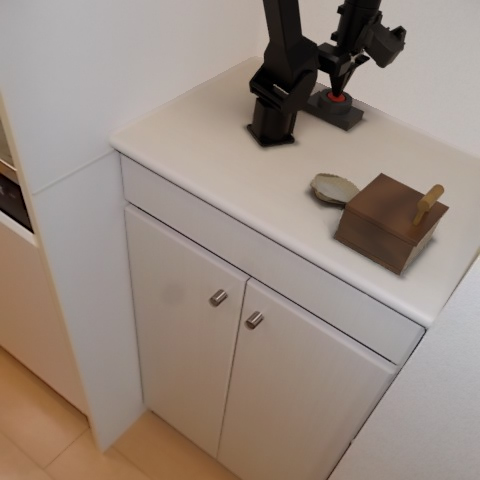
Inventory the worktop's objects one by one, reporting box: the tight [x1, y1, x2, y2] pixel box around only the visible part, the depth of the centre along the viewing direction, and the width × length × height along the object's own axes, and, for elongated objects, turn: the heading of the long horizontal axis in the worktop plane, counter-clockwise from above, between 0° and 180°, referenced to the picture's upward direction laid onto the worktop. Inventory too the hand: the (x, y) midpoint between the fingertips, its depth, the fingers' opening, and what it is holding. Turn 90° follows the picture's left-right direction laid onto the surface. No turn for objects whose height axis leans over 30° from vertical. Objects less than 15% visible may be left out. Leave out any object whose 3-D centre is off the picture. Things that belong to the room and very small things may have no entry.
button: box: [327, 92, 345, 102], centre depth 96 cm, size 3×3×2 cm
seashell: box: [309, 172, 361, 205], centre depth 80 cm, size 8×3×8 cm
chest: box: [333, 208, 442, 276], centre depth 74 cm, size 11×11×5 cm
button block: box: [302, 87, 365, 132], centre depth 97 cm, size 10×6×4 cm, turn 54°
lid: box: [344, 172, 450, 247], centre depth 70 cm, size 11×11×5 cm
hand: (336, 96), depth 95 cm, fingers closed, pressing on button
